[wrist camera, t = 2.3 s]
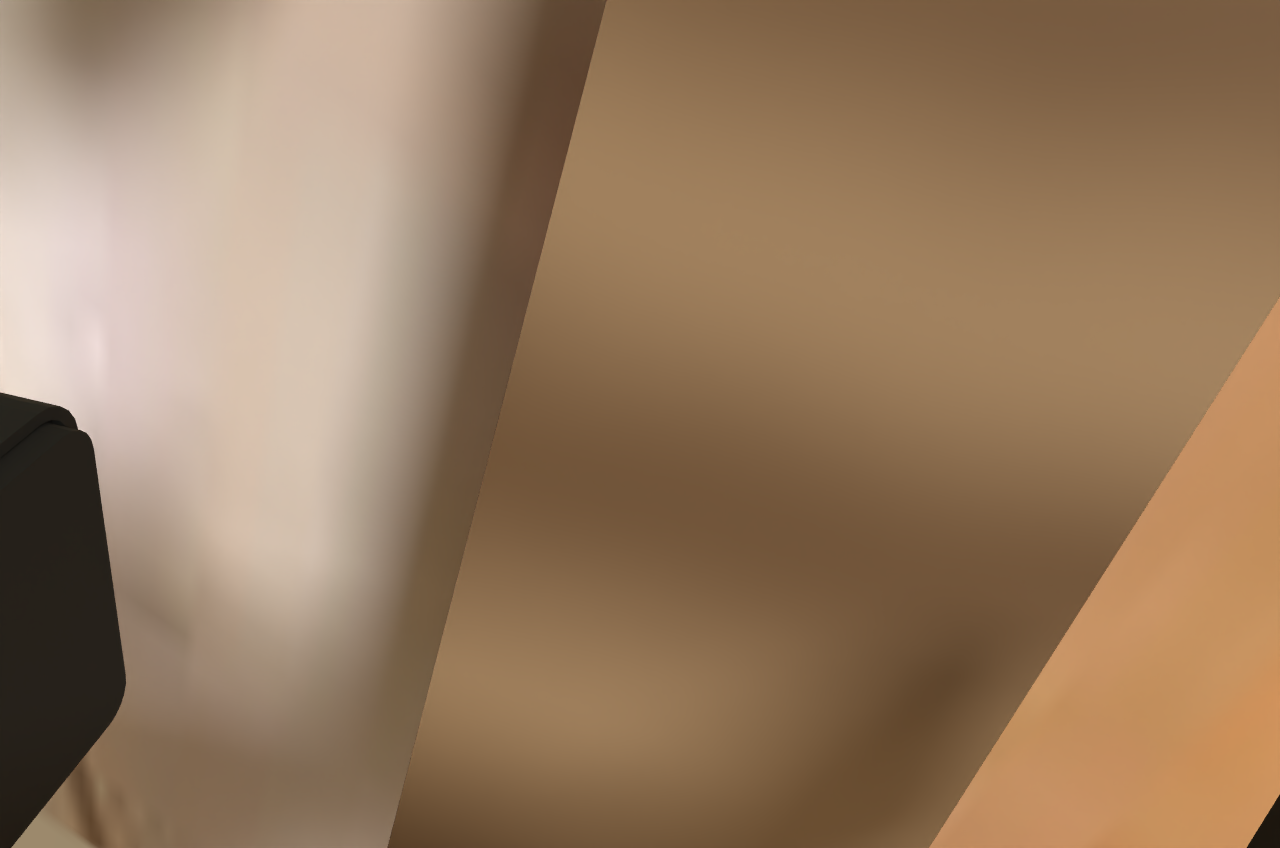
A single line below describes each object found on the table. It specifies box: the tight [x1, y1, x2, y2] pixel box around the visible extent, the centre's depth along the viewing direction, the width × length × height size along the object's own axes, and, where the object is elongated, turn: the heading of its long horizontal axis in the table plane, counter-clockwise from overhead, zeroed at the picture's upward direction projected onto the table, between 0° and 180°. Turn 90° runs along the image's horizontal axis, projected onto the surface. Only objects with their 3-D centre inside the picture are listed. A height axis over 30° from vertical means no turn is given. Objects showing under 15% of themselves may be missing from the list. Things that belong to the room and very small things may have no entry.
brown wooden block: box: [388, 0, 1280, 848], centre depth 14 cm, size 16×6×5 cm, turn 164°
